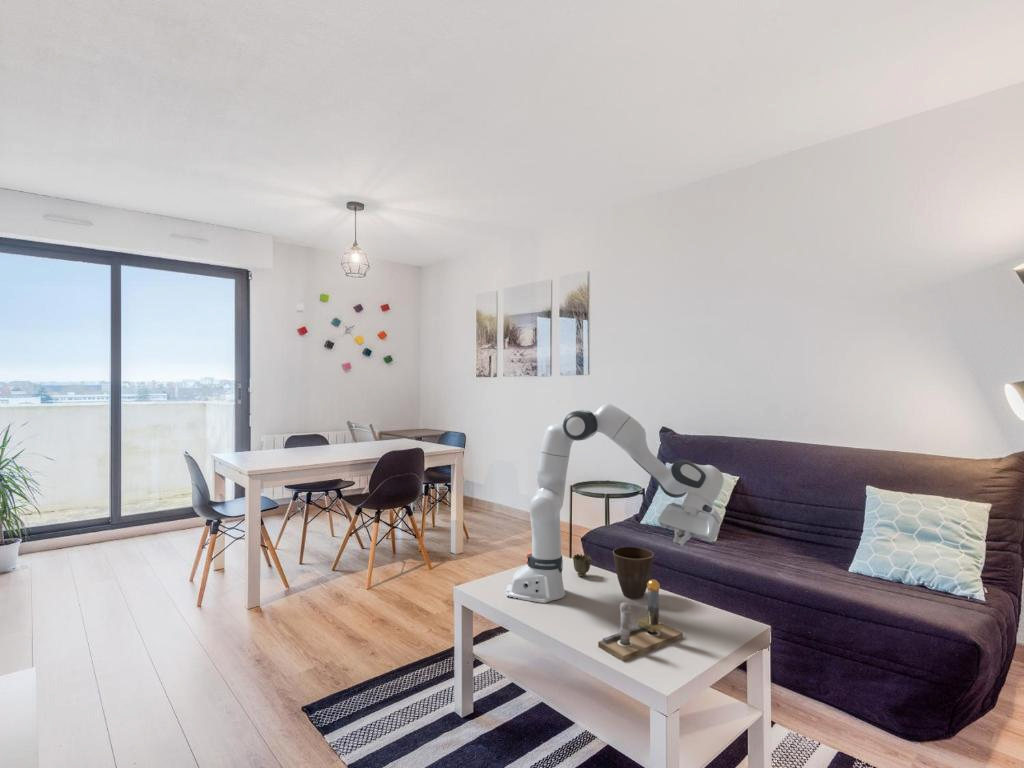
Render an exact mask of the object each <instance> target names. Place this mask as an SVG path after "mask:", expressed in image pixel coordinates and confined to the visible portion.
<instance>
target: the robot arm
mask: <svg viewBox="0 0 1024 768" xmlns="http://www.w3.org/2000/svg"><path fill="white" fill-rule="evenodd" d="M596 433H601V434H604V435H605V436H606V437H608V438H609V439H610V440H612V441H613V443H615V444H616V445H618V447H620V448H621V449H622V450H623V451H625V452H626V453H627V454H628V455H629V457H630V458H631V459H632V460H633V461H634V462H635V463H636V464H638V465H639V466H640V467H641V468H642V469H643V470H644V472H646V473H647V474H649V475H650V476H651V477H652V478H653V479H654V480H655V481H656V482H657V485H658V486H659V487H660V489H661V491H662V492H663V493H664V494H665V495H667V496H668V497H671V498H675V499H676V498H677V499H678V498H682V497H684V496H685V495H686V497H685V498H684V500H683V502H682V503H681V504H679V503H676V502H672V503H668V504H666V506H665V508H664V509H663V510H662V511H661V513H660V515H659V516H658V518H657V521H658V523H659V525H660V526H661V527H662V528H664V529H669V530H672V531H674V538H673V540H672V542H673V543H674V544H676V545H678V546H682V547H683V546H684V545H685V543H687V541H689V540H690V539H691V538H696V539H699V540H703V541H706V542H709V543H712V542H714V541H716V539H717V537H718V535H719V533H720V529H721V527H720V525H721V524H722V523H723V519H722V517H721V515H720V514H719V512H718V511H717V509H716V508H714V507H713V506H714V502H715V501H716V500H717V499H718V497H719V496H720V493H721V491H722V488H723V484H724V482H725V481H724V479H725V478H724V476H723V473H722V472H721V470H720V469H719V468H717V467H715V466H713V465H711V464H705V465H704V464H697V463H694V462H692V461H690V460H688V459H678V460H676V461H674V462H673V464H672V465H671V466H670V467H669V466H666V464H664V463H663V462H662V461H661V460H660V459H659V458H658V457H657V456H656V455H654V454H653V453H652V452H651V451H650V449H649V447H648V442H647V433H646V429H645V428H644V427H643V426H642V424H641V423H640V422H639V421H638V420H636V419H635V418H634V417H633V416H631V415H630V414H629V413H627V412H626V411H624V410H622V409H621V408H619V407H616V406H615V405H613V404H611V403H604V404H603V405H601V406H599V407H598V408H597V409H596V411H594V412H592V411H590V410H587V409H586V410H585V409H578V410H575V411H572V412H569V413H568V414H567V415H566V416H565V418H564V419H563V423H562V424H561V423H554V424H551V425H549V426H547V428H546V430H545V432H544V435H543V437H542V442H541V447H540V450H539V451H540V453H539V458H538V464H537V465H538V466H537V471H536V474H537V477H536V478H537V479H536V489H535V494H534V495H533V497H532V498H531V500H530V502H529V517H530V519H529V520H530V529H531V551H528V553H527V554H526V564H525V565H523V566H521V568H519V569H518V570H517V571H515V573H514V574H513V576H512V580H511V583H509V584H508V585H507V586H506V588H505V592H504V594H506V595H507V596H509V597H508V598H510V597H513V598H512V599H516V598H518V599H517V600H523V601H530V602H535V603H541V604H546V603H549V602H552V601H555V600H560V599H562V598H564V597H565V596H566V591H565V586H564V581H563V573H562V572H563V566H564V563H563V561H564V560H563V554H562V532H561V521H560V520H561V517H560V516H561V510H562V508H563V506H564V501H565V500H564V499H565V491H566V485H567V484H566V483H567V482H566V481H567V473H568V467H569V461H570V454H571V447H572V445H573V442H575V441H580V442H581V441H585V440H587V439H590V438H591V437H593V436H595V434H596ZM682 534H684V535H683V536H682V537H680V536H681V535H682ZM506 595H505V596H506ZM507 596H506V597H507Z"/></svg>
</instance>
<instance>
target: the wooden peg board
mask: <svg viewBox="0 0 1024 768" xmlns="http://www.w3.org/2000/svg"><path fill="white" fill-rule="evenodd" d="M619 610H620V632H618V633H615V634H613V635H609V636H606V637H603V638H602V640H598V642H597V644H598V645H597V647H598V648H600V649H602V650H603V651H604V652H606V653H608V654H610V655H611V656H613V657H615V658H616V659H618V660H620V661H622V662H626V661H628V660H630V659H633V658H635V657H638V656H640V655H643V654H646V653H647V652H650V651H653V650H656V649H658V648H661V647H664V646H666V645H668V644H670V643H673V642H675V641H678V640H681V639H683V638H684V634H683V633H684V632H682V631H680V630H678V629H676V628H674V627H672V626H670V625H669V626H668V625H667V624H665V623H663V622H661V620H659V622H661V623H662V629H660V630H657V631H655V632H651V631H649V630H647V629H645V628H643V627H640V626H638V625H637V626H636V627H633V628H630V626H631V625H630V624H631V620H630V619H631V610H632V608H631V605H630V604H629V602H626V601H622V602H621V603H620V605H619Z"/></svg>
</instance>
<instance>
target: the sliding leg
mask: <svg viewBox="0 0 1024 768" xmlns="http://www.w3.org/2000/svg"><path fill="white" fill-rule="evenodd" d="M660 589H661V587H660V583H659V582H658V580H657V579H649V581H648V583H647V615H645V616H642V617H639V618H637V619H636V624H637V627H638V626H640V627H643V628H645V629H647V630H649V631H651V632H655V631H657V630H660V629H662V623H663V622H661V621H660V619H659V618H660V617H659V615H660V613H659V612H660V611H659V609H660V608H659V607H660V606H659V605H660V604H659V603H660V602H659V600H660V597H659V596H660V595H659V593H660V592H659V591H660ZM659 621H660V622H659Z"/></svg>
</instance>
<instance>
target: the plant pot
mask: <svg viewBox="0 0 1024 768" xmlns="http://www.w3.org/2000/svg"><path fill="white" fill-rule="evenodd" d="M612 554H613V555H612V556H613V560H614V561H613V562H614V568H615V572H616V575H617V576H616V577H617V580H618V584H619V585H620V589H621V592H622V595H623V597H625V598H627V599H631V600H641V599H643V598H644V596H645V594H646V591H647V590H648V588H647V583H648V581H649V580H651V579H650V578H651V574H652V569H653V564H654V558H655V557H654V556H655V553H654V552H653V551H651V550H649V549H647V548H643V547H636V546H622V547H616V548H614V549H613V550H612Z"/></svg>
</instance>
